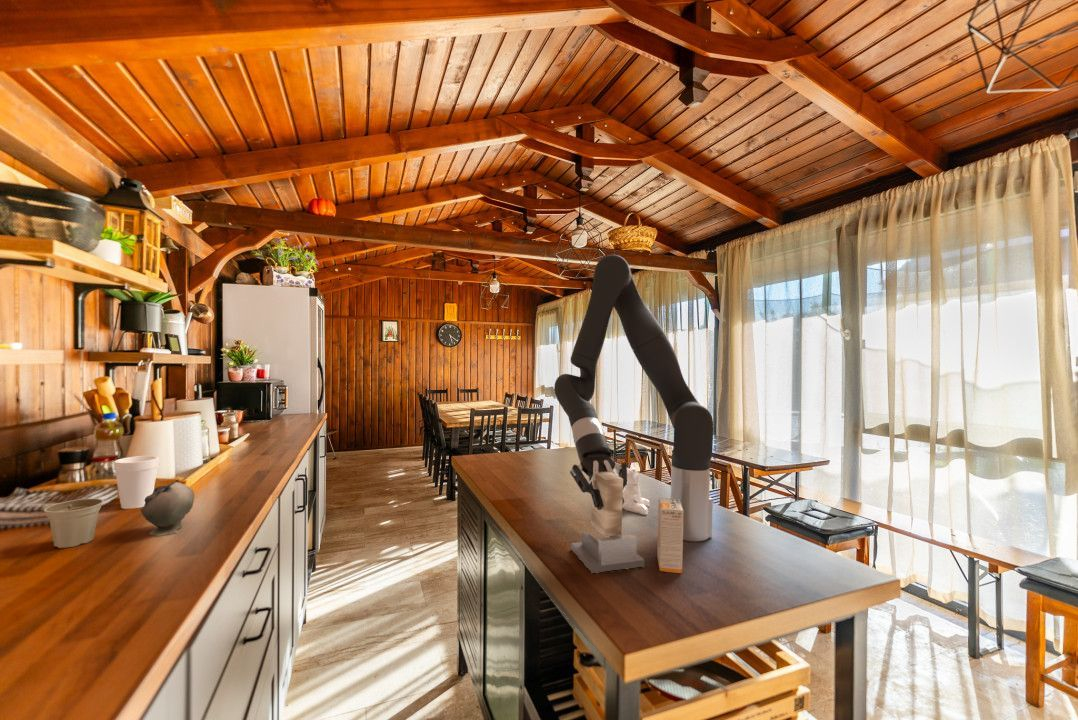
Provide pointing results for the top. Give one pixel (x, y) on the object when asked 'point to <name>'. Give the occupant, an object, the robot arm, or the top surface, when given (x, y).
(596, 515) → the brown paper bag
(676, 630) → the top surface
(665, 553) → the supplement box
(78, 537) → the flower pot
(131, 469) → the foam cup
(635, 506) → the sitting furry creature
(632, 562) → the cradle
